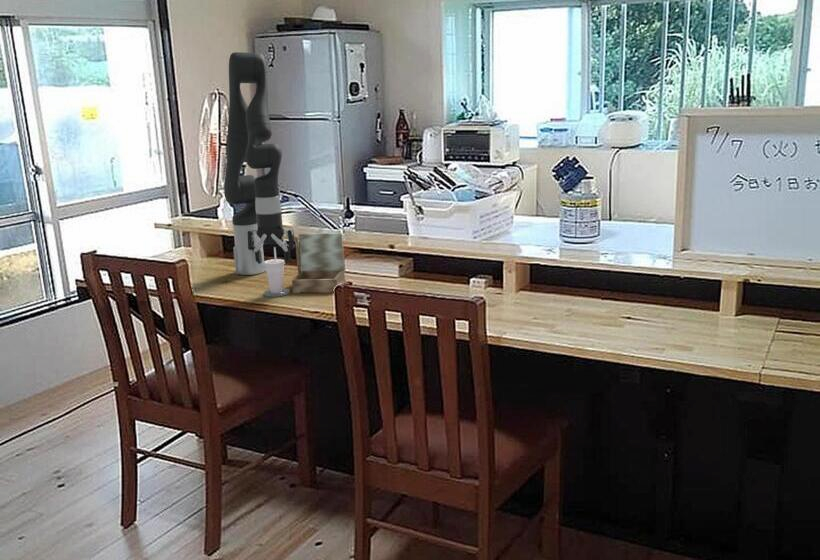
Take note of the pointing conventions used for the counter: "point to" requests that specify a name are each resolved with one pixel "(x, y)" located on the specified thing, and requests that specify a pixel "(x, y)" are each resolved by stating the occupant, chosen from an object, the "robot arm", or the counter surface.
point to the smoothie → (275, 273)
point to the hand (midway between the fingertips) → (273, 262)
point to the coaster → (269, 294)
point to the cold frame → (319, 262)
